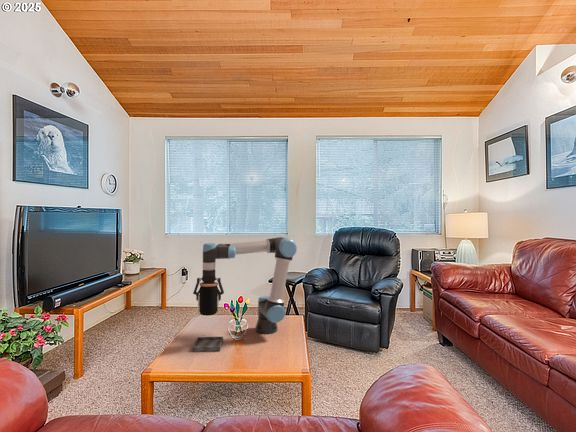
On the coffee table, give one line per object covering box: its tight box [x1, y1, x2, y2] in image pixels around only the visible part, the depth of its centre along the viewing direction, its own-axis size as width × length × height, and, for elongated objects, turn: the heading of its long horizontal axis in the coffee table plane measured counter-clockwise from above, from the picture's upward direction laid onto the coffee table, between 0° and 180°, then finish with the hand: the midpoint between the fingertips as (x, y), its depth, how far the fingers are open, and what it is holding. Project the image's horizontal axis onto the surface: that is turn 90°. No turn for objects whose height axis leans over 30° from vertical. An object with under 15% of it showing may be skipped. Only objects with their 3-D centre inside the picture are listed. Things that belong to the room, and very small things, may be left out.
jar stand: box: [191, 336, 224, 353], centre depth 202 cm, size 16×16×3 cm
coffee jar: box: [198, 281, 219, 316], centre depth 201 cm, size 11×11×18 cm
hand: (208, 305), depth 201 cm, fingers closed on coffee jar, 10 cm apart
